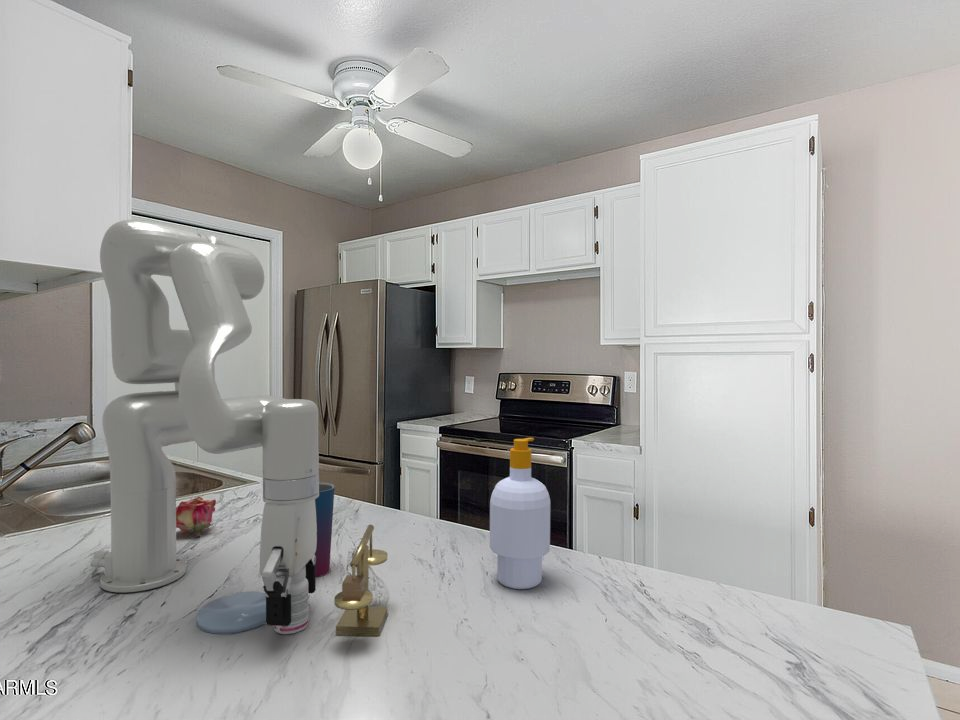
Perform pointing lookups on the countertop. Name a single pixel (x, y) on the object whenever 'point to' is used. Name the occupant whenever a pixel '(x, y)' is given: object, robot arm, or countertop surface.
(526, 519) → the soap bottle
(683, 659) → the countertop surface
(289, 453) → the robot arm
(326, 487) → the cup
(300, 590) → the pill bottle
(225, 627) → the saucer
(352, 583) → the balance
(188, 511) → the flower
